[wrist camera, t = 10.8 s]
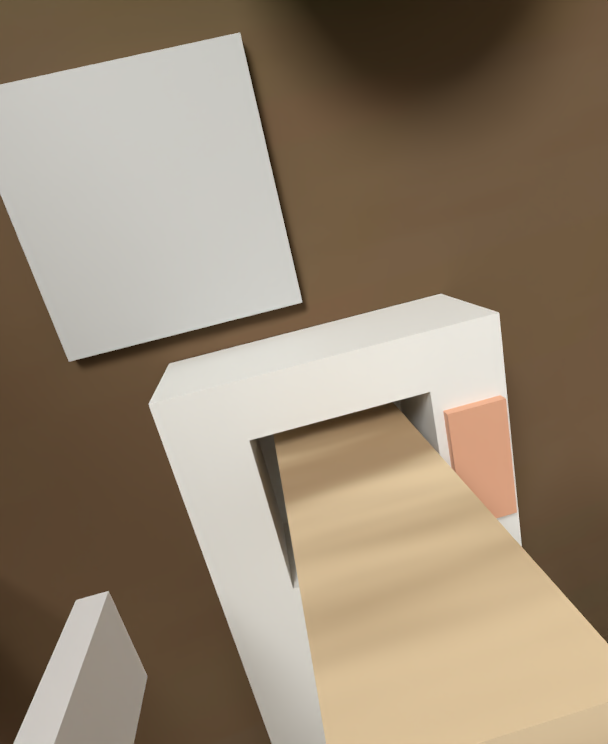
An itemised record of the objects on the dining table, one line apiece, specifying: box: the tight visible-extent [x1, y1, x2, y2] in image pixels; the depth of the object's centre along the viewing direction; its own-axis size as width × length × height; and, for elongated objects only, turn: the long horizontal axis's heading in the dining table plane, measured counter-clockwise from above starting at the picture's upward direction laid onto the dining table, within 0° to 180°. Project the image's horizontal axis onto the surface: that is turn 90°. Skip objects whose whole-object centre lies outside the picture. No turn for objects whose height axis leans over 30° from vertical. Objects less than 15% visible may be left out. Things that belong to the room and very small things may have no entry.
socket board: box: [149, 294, 522, 744], centre depth 17 cm, size 18×10×4 cm, turn 13°
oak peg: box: [273, 402, 608, 744], centre depth 12 cm, size 4×4×12 cm
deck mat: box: [0, 33, 302, 362], centre depth 15 cm, size 8×8×1 cm
